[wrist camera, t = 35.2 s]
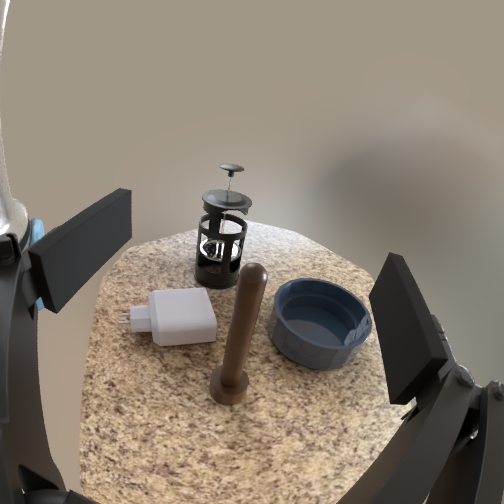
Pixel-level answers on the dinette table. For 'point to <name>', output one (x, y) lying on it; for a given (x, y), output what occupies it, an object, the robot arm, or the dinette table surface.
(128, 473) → the dinette table surface
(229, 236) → the french press
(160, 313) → the charger
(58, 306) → the robot arm
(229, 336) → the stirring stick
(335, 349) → the bowl
